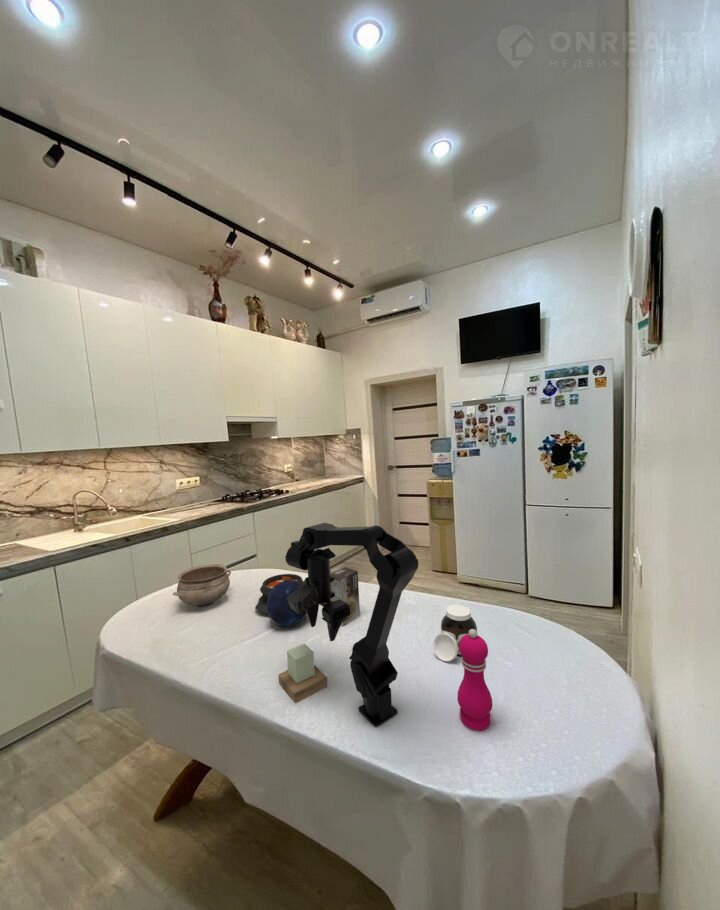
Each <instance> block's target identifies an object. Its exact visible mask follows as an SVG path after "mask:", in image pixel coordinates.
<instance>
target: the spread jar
mask: <svg viewBox="0 0 720 910" xmlns="http://www.w3.org/2000/svg"><path fill="white" fill-rule="evenodd" d="M471 612H472V611H471V609H470V608H469V607H467V606H465V605H461V604H451V605H449V606H447V607H446V609H445V615H444V616H443V618H442V619H441V624H440V633H439V634H437V635H436V636H435V637H434V639H433V643H432V644H433V645H432V646H433V651H434V653H435V655H436V657H437V658H438V659H439V660H441V661H443V662H451V661H453V660H455V659H456V658H457V657H459V658H462V655H461V654H460V651H459V642H460V640H461V638H462V637H463V636H465V635H467V634H469V630H470V629H474V630H476V632H477V633H478V626H477V623H476V621H475V620H474V618H473V617H472V613H471Z"/></svg>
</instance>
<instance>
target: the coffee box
mask: <svg viewBox="0 0 720 910" xmlns="http://www.w3.org/2000/svg"><path fill="white" fill-rule="evenodd" d="M358 571H359V570H355V569H353V568H350V567H342V568H340V569H337V570H336V571H334V572H332V573H330V574H331V576H333V577H334V581H332V582H331V591H332V592H334V593H335V597H333V598H331V601H336V600H338V599H340V600H342V601H344V602H346V603H347V604H349V605H350V606H351V615H349V616H347V617H345V618H344V620H343V622H342V624H341V626H342V627H344V626H346V625H347V624H349V623H351V622H352V621H354V620H355V619H356V618H358V617H360V616H361V610H360V591H359V590H360V589H359V573H358ZM357 616H358V617H357ZM341 626H340V627H341Z"/></svg>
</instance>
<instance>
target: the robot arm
mask: <svg viewBox="0 0 720 910" xmlns="http://www.w3.org/2000/svg"><path fill="white" fill-rule="evenodd" d="M378 545H379V546H380V547H382V548H384V549H385V550H387V551H389V553H387V554H383V553H382V552H381V550H380V548H379V546H378ZM329 546H355V547H356V546H357V547H359V546H361V547H363V548H364V549H365V550H366V553H367V556H368V560H369V562H370V564H371V565H372V566H373V568H374V569H375V570H376V579H377V583H378V586H379V589H378V591H377V592H378V593H377V596H376V599H375V604H374V606H373V609H372V613H371V616H370V621H369V624H368V627H367V631H366V635H365V636H364V637H363V638H361V639H359V640H358V641H356V642H354V644H353V645H352V650H351V655H350V656H349V660H350V670H351V675H352V678H353V682H354V685H355V688H356V692H358V693H359V694H360V695H361V697H362V699H363V700H362V702H363V704H362V705H360V706H358V712H360V713H361V715H362V716H364V718H366V719H367V720H368V722H370V724H371V725H373V726H374V727H375V728H376V727H377V728H378V726H380V725H382V724H383V723H385V722H386V721H388V720H389V719H391V718H392V717H394V716H396V715H397V714H398V710H397V708H396V707H394V706H393V704H392V688H391V687H390V684H392V682H394V681H396V679H397V677H398V674H399V673H398V671H397V669H396V668H395V666H394V664H393V663H392V661H391V660H390V658H389V654H390V651H389V648H388V645H387V643H388V640H389V636H390V633H391V629H392V626H393V623H394V619H395V615H396V613H397V610H398V607H399V606H398V605H399V603H400V600H401V596H402V593H403V591H404V590H405V588H406V587H407V586H408V585H409V583H410V582H411V581H412V579H413V578H414V576H415V574H416V572H417V570H418V568H419V559H418V558H417V556H416V554H415V553H414V552H413V551H412V550H411V549H410V548H408V547H407V545H406V544H405V543H404V542H403V541H402V540H400V539H399V538H397V537H395V536H393V535H391V534H389V533H388V532H387V531H386V530H385V529H384V528H383V527H381V525H372V526H347V527H346V526H339V527H338V526H336V525H334V524H332V523H328V522H322V523H318V524H315V525H314V524H313V525H311V526H306V527H304V528H302V534H301V536H300V538H299V540H295V541H292V542H290V547H289V548H288V550H287V551H286V554H285V558H284V560H285V562H286V564H287V565H288V566H290V567H293V568H296V569H299V570H303V571H307V577H305V578H304V580H303V581H304V585H302V586H299V587H296V589H295V590H294V592H293V593H292V594H290V595H289V596H288V597H287V600H288V602H289V605H290V607H291V609H292V610H294V611H295V612H296V613H298V614H300V613H302V612H303V611H304V610H305V611H306V617H307V619H308V622H309V625H310V627H311V628H314V627H316V624H317V620H318V613H319V608H320V606H321V607H322V608H321V616H322V618H321V619H322V621H324V622H325V623H326V625H327V626H326V627H327V631H328V638H329V641H330V642H334V641H335V640H336V637H337V635H338V633H339V630H340V628H341V624H342V622H343V620H344V618H345V617H347V616H349V615H351V606H350V605H349V604H347V603H346V602H344V601H342V600H340V599H338V600H336V601H331V598H333V597H335V593H334V592H332V591H331V582H332V581H334V577H333V576H331V574H332V573H331V559H334V558H336V554H335V553H334V552H333V551H332V550H331V549H330V547H329ZM325 547H326V548H325ZM321 548H324V549H321Z"/></svg>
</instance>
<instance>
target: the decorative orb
mask: <svg viewBox="0 0 720 910" xmlns="http://www.w3.org/2000/svg"><path fill="white" fill-rule="evenodd" d="M302 585H303V584H301V583H300V582H298V581H296V580H284V581H282V582H280V583H279V584H277V585H275V586H274V587H273V589H272V590H271V592H270V593H269V595H268V600H267V610H268V613H267V614H268V615H269V617H270V619H271V620H272V621H273V622H274V623H275V624H277V625H278V626H279V627H293V626H294V625H296V624H298V623H300V622H301V621H303V620H304V619H305V617H307V614H306V611H305V610H304V611H303V612H302V613H300V614H298V613H296V612H295V611H294V610H292V609H291V607H290V605H289V602H288V600H287V597H288V596H289V595H290V594H292V593H293V592H294V590H295V589H296V587H299V586H302Z"/></svg>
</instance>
